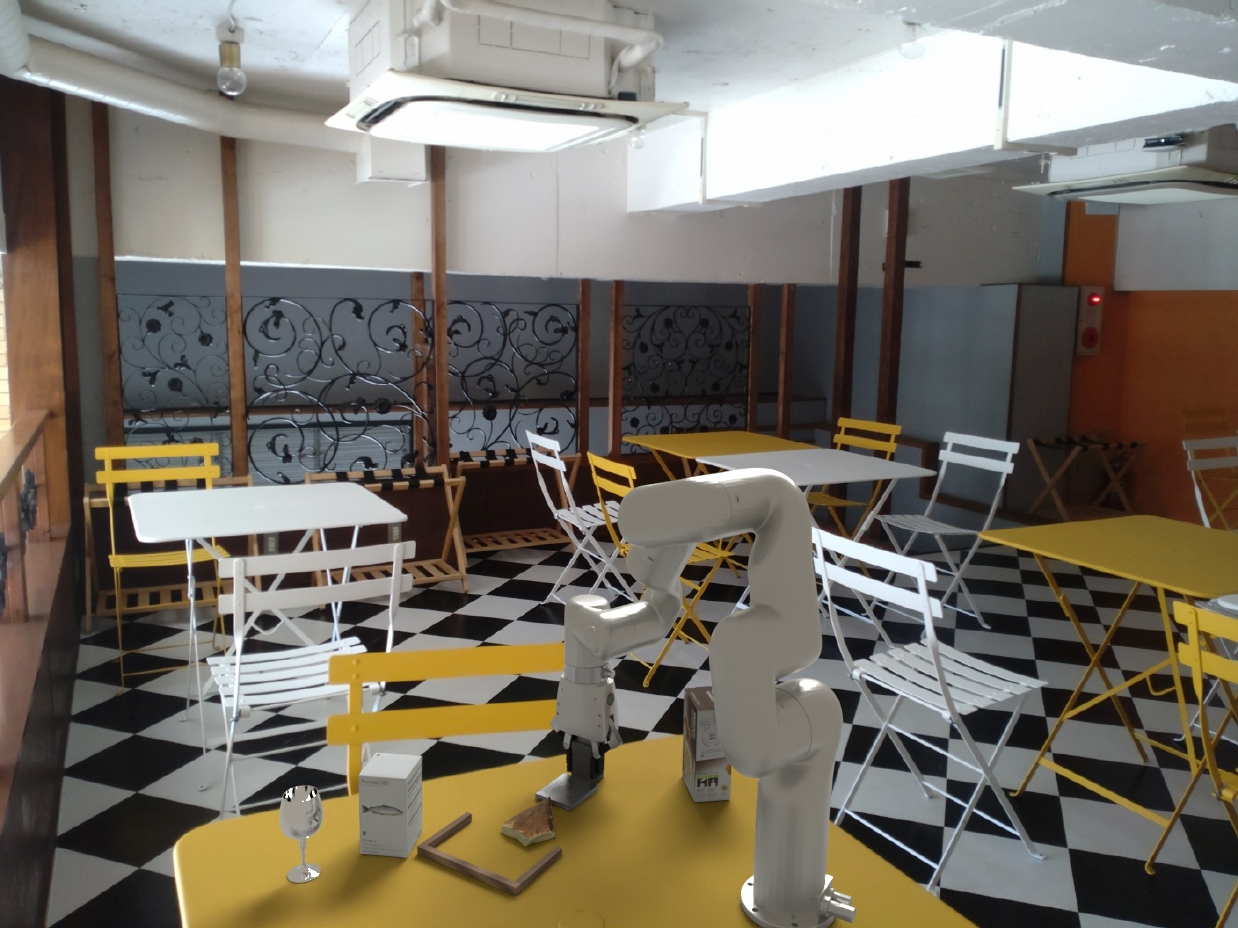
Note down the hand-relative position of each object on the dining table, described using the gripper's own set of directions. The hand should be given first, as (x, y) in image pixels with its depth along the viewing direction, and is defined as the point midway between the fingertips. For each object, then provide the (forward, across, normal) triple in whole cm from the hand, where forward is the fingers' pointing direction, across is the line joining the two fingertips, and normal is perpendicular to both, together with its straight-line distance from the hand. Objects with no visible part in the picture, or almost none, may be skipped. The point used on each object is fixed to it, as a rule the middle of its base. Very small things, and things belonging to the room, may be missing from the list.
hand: (585, 771), depth 155 cm
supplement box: (+2, +14, +31) cm, 34 cm away
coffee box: (+2, -18, -9) cm, 20 cm away
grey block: (+2, 0, +3) cm, 4 cm away
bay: (+2, 0, +25) cm, 25 cm away
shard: (+2, 0, +16) cm, 16 cm away
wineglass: (+2, +18, +43) cm, 47 cm away
